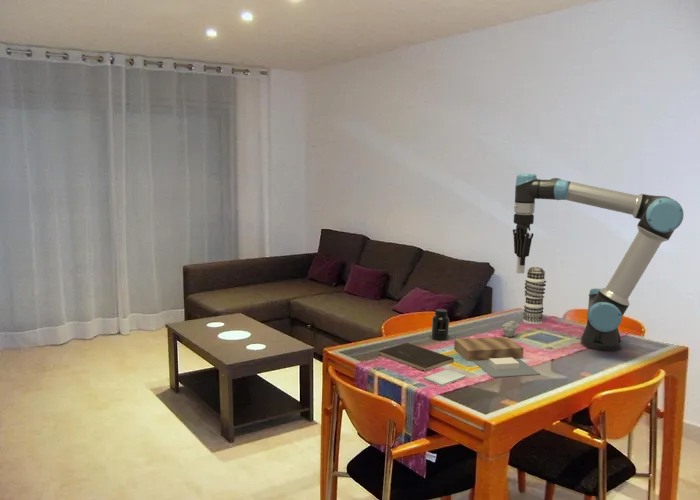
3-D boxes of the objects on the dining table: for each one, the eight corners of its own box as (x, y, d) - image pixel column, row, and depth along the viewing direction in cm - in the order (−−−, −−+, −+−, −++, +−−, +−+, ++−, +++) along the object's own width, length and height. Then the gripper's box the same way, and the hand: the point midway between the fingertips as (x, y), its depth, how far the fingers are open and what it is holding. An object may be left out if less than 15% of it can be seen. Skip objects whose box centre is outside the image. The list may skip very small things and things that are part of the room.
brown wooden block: (506, 346, 243) (507, 336, 242) (522, 358, 229) (523, 347, 229) (454, 348, 239) (454, 339, 238) (467, 361, 225) (468, 350, 225)
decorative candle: (544, 325, 274) (547, 270, 270) (522, 323, 276) (526, 269, 272) (542, 319, 283) (546, 266, 279) (522, 318, 285) (525, 265, 281)
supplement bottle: (440, 341, 247) (441, 313, 246) (428, 337, 253) (429, 309, 251) (451, 338, 252) (452, 310, 250) (439, 334, 257) (440, 307, 255)
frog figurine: (518, 339, 252) (519, 323, 251) (500, 338, 254) (501, 321, 253) (518, 335, 258) (519, 319, 257) (501, 333, 260) (502, 318, 259)
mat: (519, 359, 228) (519, 358, 228) (540, 374, 213) (540, 373, 213) (473, 361, 225) (473, 361, 225) (491, 377, 209) (491, 376, 209)
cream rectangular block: (519, 363, 217) (519, 368, 218) (512, 357, 223) (511, 362, 224) (495, 364, 216) (495, 369, 216) (488, 358, 222) (488, 363, 222)
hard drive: (447, 368, 214) (423, 376, 206) (465, 375, 208) (441, 383, 200) (447, 373, 214) (423, 381, 206) (465, 380, 208) (441, 388, 200)
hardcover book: (424, 373, 214) (424, 367, 214) (378, 356, 231) (379, 350, 230) (453, 363, 224) (453, 357, 224) (407, 347, 241) (408, 342, 241)
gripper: (507, 211, 243) (504, 269, 247) (522, 215, 230) (519, 276, 234) (525, 211, 244) (521, 269, 248) (541, 215, 232) (537, 276, 236)
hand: (520, 272), depth 241 cm, fingers closed
